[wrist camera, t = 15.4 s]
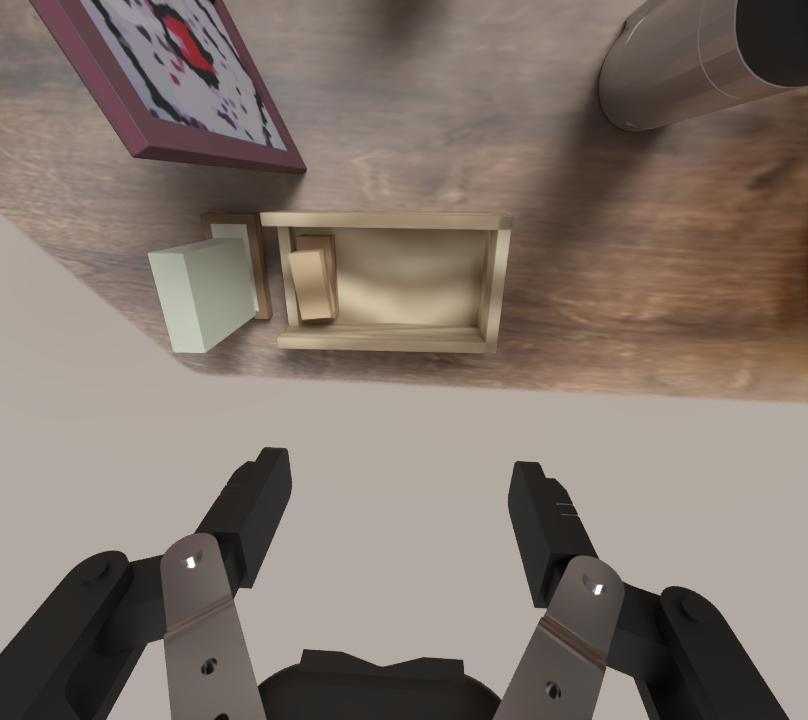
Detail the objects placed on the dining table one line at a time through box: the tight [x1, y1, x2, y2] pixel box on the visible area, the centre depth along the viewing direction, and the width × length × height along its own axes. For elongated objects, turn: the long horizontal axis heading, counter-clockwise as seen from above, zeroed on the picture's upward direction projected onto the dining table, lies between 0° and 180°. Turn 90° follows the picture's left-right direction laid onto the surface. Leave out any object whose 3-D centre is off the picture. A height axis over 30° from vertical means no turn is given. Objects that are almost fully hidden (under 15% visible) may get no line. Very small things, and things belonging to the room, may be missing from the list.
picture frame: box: [29, 0, 307, 174], centre depth 27 cm, size 17×10×25 cm, turn 25°
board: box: [200, 213, 273, 319], centre depth 44 cm, size 12×6×2 cm, turn 179°
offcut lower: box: [297, 234, 339, 318], centre depth 43 cm, size 9×4×2 cm, turn 179°
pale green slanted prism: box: [148, 238, 256, 353], centre depth 38 cm, size 9×3×12 cm, turn 0°
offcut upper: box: [288, 248, 335, 320], centre depth 40 cm, size 7×3×2 cm, turn 5°
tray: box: [260, 210, 513, 354], centre depth 41 cm, size 14×24×7 cm, turn 89°
